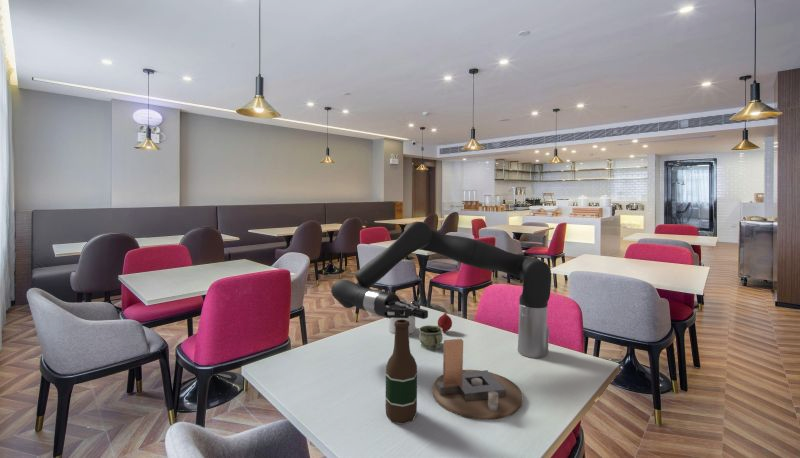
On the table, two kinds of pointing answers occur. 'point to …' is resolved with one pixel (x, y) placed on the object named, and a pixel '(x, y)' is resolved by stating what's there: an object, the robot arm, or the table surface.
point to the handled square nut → (464, 376)
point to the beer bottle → (401, 378)
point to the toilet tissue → (410, 319)
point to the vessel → (430, 337)
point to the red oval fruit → (445, 322)
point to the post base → (482, 400)
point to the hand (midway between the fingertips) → (426, 315)
